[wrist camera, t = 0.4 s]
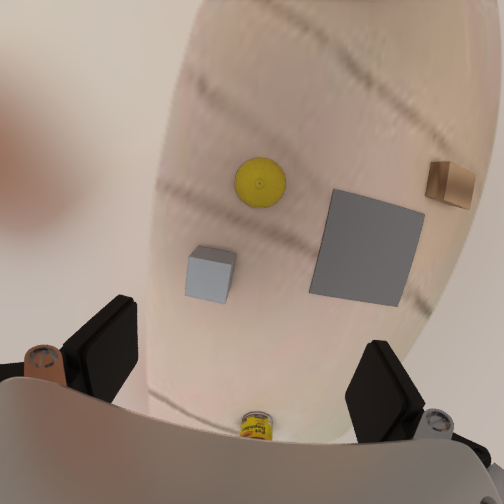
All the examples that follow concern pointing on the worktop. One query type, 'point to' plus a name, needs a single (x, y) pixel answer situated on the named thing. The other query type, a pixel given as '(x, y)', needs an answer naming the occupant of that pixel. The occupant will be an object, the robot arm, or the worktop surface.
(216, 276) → the slate block
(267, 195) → the lemon
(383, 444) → the robot arm
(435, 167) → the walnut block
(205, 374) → the worktop surface
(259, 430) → the supplement bottle
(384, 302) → the mat
